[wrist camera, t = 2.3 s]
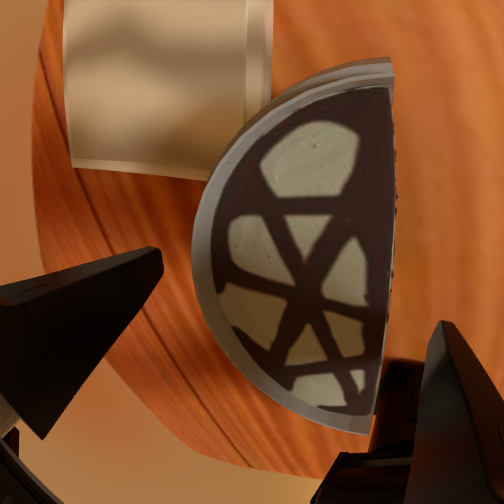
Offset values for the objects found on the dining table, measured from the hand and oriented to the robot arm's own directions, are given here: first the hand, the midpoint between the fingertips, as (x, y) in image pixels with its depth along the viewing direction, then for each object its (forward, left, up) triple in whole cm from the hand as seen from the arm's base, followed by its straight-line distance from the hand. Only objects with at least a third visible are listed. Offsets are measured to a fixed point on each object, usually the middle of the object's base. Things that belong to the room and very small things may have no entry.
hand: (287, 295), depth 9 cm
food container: (0, 0, -9) cm, 9 cm away
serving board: (+8, +12, -10) cm, 17 cm away
